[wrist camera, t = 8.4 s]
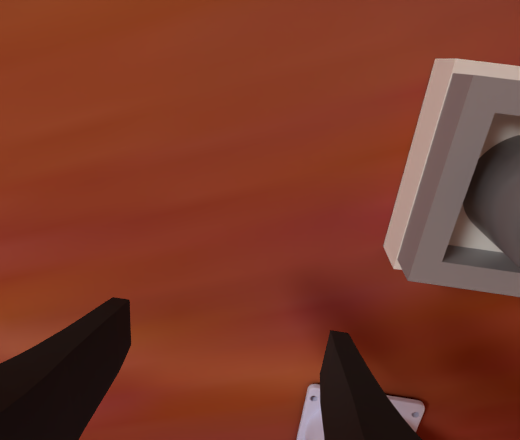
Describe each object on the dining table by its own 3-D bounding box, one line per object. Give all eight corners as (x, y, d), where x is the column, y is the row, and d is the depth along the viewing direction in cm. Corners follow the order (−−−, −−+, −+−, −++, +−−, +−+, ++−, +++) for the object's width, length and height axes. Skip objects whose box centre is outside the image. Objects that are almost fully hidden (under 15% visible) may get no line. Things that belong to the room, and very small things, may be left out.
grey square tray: (542, 269, 21) (601, 319, 17) (383, 246, 22) (403, 290, 17) (632, 82, 17) (738, 89, 13) (435, 58, 18) (477, 58, 13)
